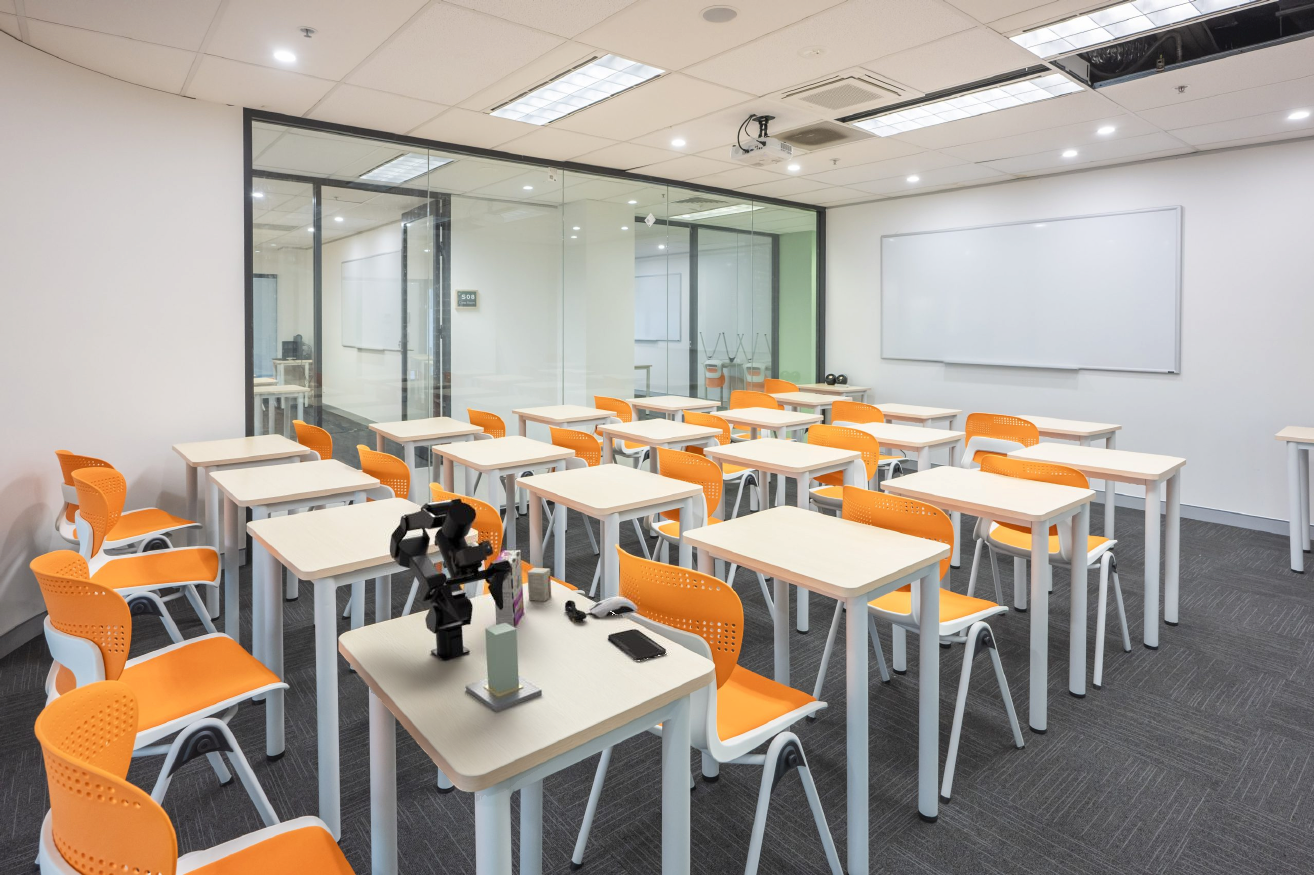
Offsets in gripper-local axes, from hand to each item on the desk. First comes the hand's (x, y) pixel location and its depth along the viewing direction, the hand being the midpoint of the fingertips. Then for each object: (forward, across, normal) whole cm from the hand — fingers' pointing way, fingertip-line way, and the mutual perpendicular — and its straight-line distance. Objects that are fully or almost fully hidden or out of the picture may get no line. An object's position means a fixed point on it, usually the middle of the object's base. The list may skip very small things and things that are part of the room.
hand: (481, 614), depth 148 cm
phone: (+16, +33, +4) cm, 37 cm away
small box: (-14, +34, +33) cm, 50 cm away
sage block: (+15, 0, +3) cm, 15 cm away
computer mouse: (+1, +40, +19) cm, 45 cm away
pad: (+15, 0, +4) cm, 16 cm away
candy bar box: (-8, +20, +28) cm, 35 cm away
